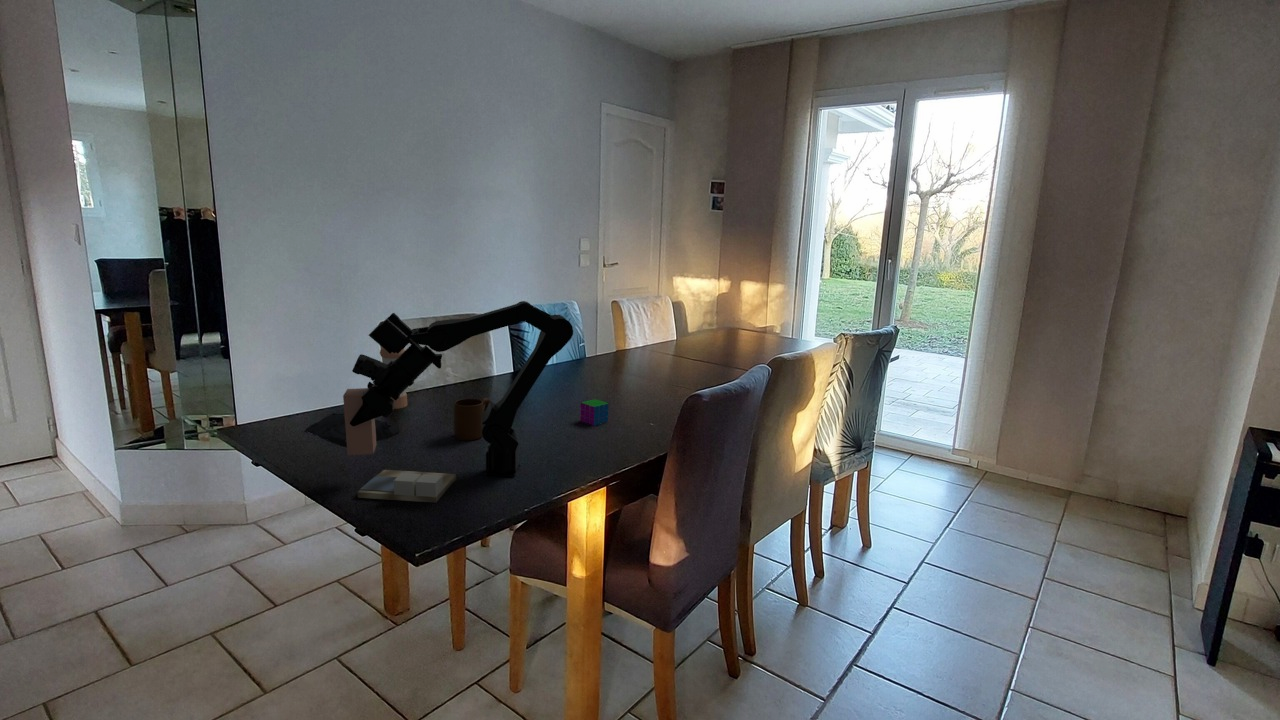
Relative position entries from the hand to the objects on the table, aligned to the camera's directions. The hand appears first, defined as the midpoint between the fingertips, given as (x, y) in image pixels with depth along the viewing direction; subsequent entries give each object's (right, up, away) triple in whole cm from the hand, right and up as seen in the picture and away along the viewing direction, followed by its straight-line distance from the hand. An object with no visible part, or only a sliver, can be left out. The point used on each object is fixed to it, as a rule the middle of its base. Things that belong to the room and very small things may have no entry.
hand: (353, 420), depth 131 cm
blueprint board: (+12, -14, 0) cm, 18 cm away
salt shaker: (-14, -1, +57) cm, 59 cm away
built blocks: (+15, -14, -4) cm, 21 cm away
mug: (+16, -7, +36) cm, 40 cm away
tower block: (+1, -6, +2) cm, 7 cm away
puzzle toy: (+47, -5, +51) cm, 70 cm away
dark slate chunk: (-15, -7, +33) cm, 37 cm away
